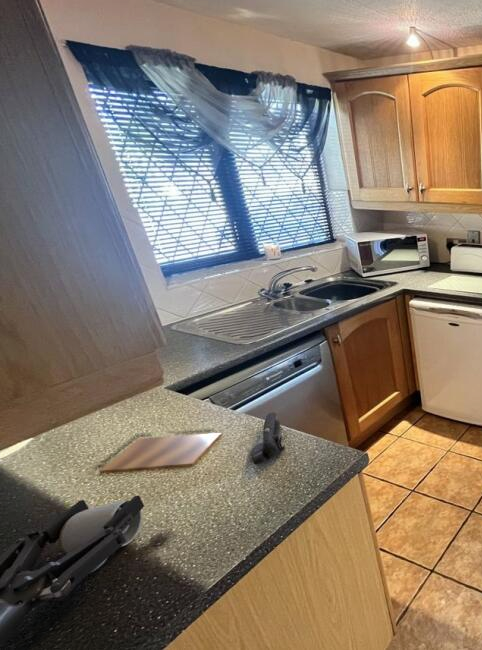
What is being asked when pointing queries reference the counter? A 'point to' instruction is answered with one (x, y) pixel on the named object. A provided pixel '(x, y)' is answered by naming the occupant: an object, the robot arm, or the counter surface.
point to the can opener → (269, 440)
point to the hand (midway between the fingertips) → (112, 503)
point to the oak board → (162, 452)
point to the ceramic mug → (95, 526)
